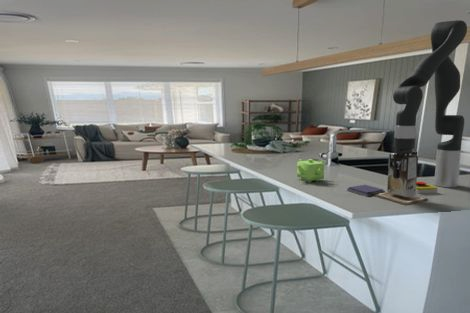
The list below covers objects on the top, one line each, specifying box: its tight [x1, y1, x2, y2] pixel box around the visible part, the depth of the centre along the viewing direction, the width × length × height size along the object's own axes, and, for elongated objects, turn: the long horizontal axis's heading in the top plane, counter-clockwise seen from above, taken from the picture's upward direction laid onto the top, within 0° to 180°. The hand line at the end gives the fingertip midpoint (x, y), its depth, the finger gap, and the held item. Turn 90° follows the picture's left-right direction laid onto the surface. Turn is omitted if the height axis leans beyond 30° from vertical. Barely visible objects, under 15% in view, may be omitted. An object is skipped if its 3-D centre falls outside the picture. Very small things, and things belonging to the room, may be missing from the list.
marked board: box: [374, 191, 429, 206], centre depth 129 cm, size 14×14×1 cm
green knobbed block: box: [296, 158, 326, 183], centre depth 163 cm, size 15×14×11 cm
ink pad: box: [346, 184, 386, 197], centre depth 139 cm, size 11×11×2 cm
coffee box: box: [386, 155, 419, 197], centre depth 128 cm, size 9×6×16 cm
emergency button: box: [416, 181, 440, 196], centre depth 140 cm, size 9×4×15 cm
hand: (402, 177), depth 128 cm, fingers closed on coffee box, 6 cm apart
